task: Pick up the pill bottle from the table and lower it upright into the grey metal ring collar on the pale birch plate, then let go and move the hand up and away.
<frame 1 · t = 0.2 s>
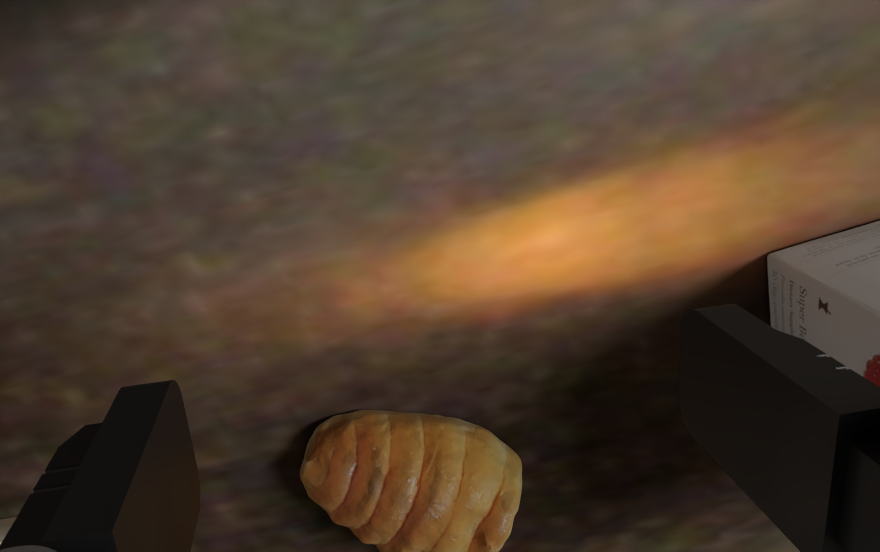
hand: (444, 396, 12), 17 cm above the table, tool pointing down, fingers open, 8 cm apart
pastry: (416, 469, 33), on the table
supplement box: (851, 311, 34), on the table
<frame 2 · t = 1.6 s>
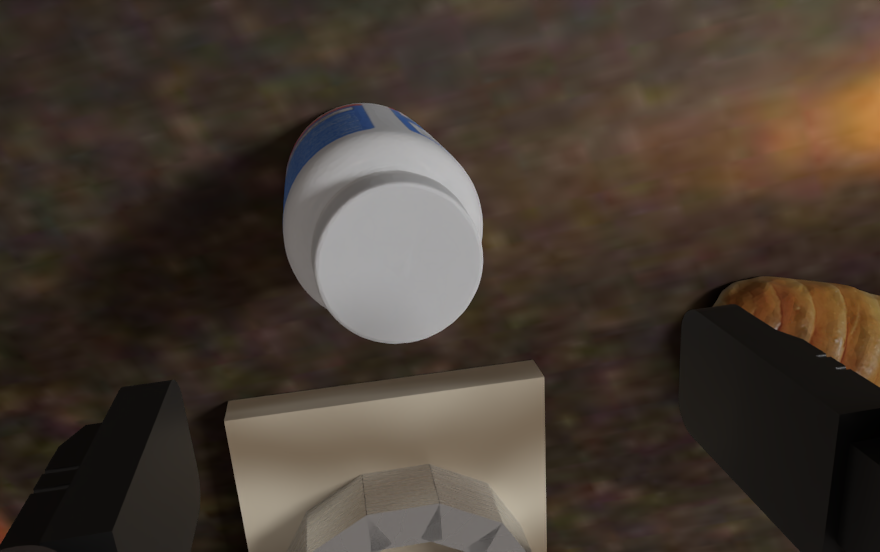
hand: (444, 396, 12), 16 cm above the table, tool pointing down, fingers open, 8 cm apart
pastry: (793, 348, 32), on the table
ring plate: (401, 545, 31), on the table
pill bottle: (364, 177, 26), on the table
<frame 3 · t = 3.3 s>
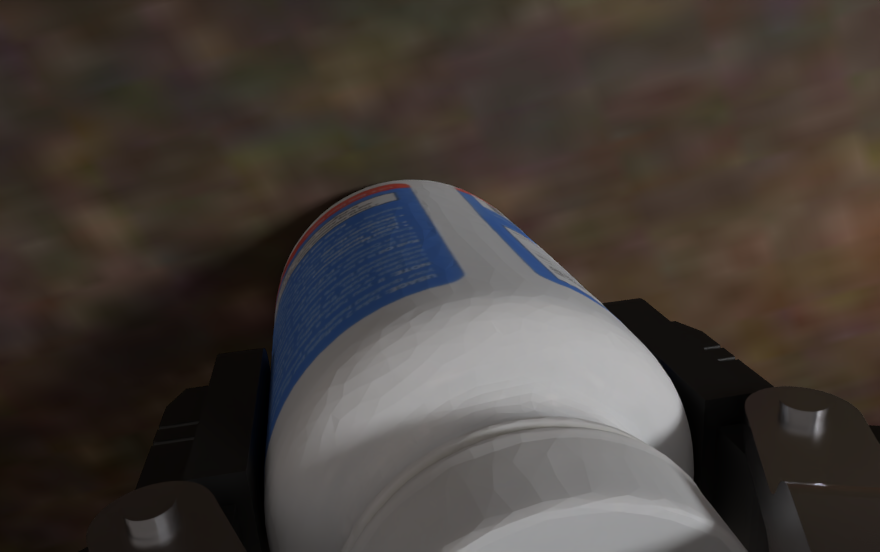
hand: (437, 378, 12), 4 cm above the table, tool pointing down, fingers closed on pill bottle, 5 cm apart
pill bottle: (408, 298, 16), on the table, touching gripper
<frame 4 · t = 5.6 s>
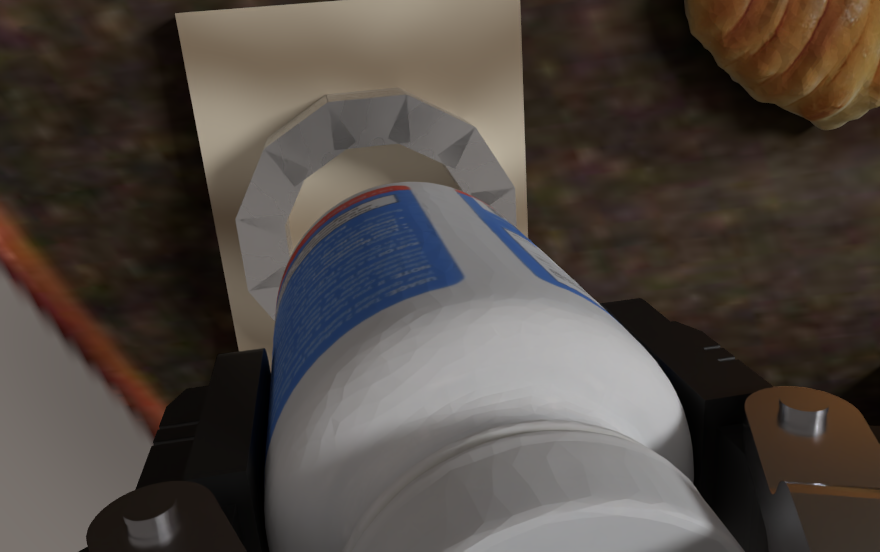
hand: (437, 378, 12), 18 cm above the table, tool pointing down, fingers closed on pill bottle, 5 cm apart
pastry: (781, 28, 30), on the table
ring collar: (379, 229, 27), on the ring plate, point 3 cm above the table
ring plate: (373, 210, 30), on the table
pill bottle: (408, 300, 16), point 14 cm above the table, touching gripper
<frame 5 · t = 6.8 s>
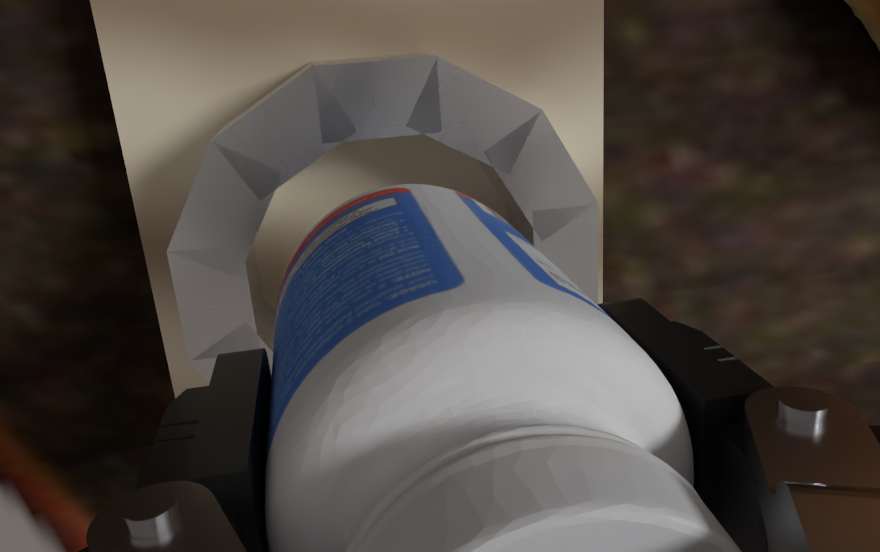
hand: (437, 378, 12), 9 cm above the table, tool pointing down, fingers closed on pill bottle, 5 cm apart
ring collar: (390, 264, 18), on the ring plate, point 2 cm above the table
ring plate: (380, 235, 21), on the table
pill bottle: (409, 302, 16), point 5 cm above the table, touching gripper
when the fingers open (6 cm above the table, at t = 7.9 s): pill bottle stays where it is, resting on ring plate.
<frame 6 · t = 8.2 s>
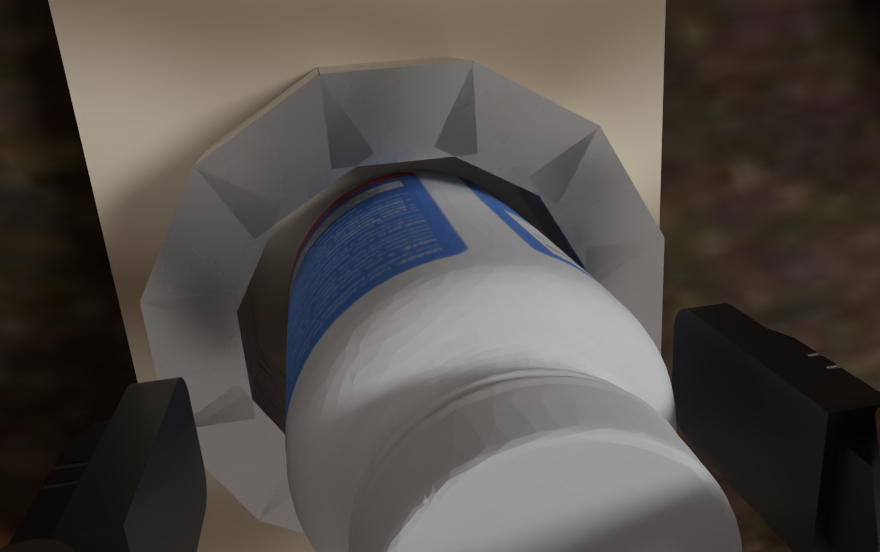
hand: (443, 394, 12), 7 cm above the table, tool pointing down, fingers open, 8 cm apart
ring collar: (412, 309, 15), on the ring plate, point 2 cm above the table
ring plate: (397, 268, 18), on the table
pill bottle: (413, 282, 16), point 1 cm above the table, touching ring plate
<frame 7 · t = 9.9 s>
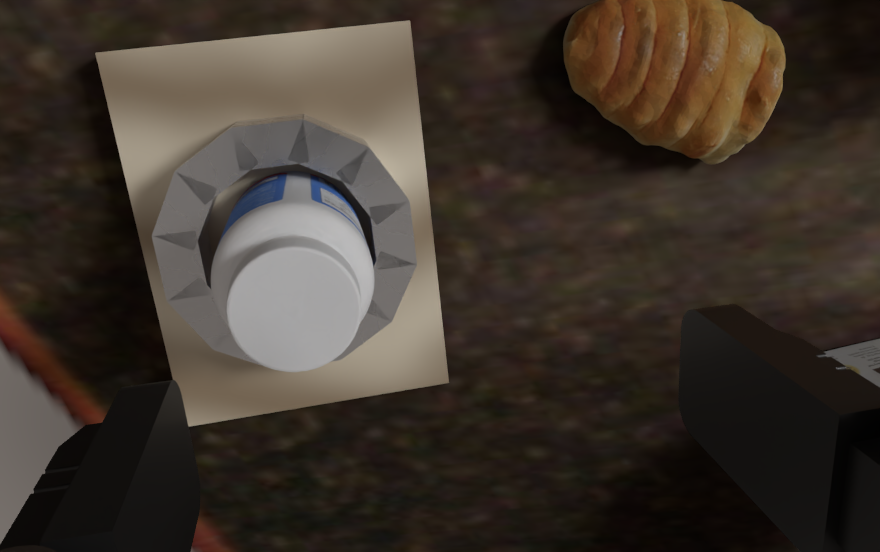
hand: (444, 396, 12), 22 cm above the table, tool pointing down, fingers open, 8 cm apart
pastry: (661, 76, 33), on the table
ring collar: (290, 242, 30), on the ring plate, point 3 cm above the table
ring plate: (291, 227, 32), on the table
pill bottle: (296, 231, 31), point 1 cm above the table, touching ring plate
coffee box: (842, 417, 41), on the table
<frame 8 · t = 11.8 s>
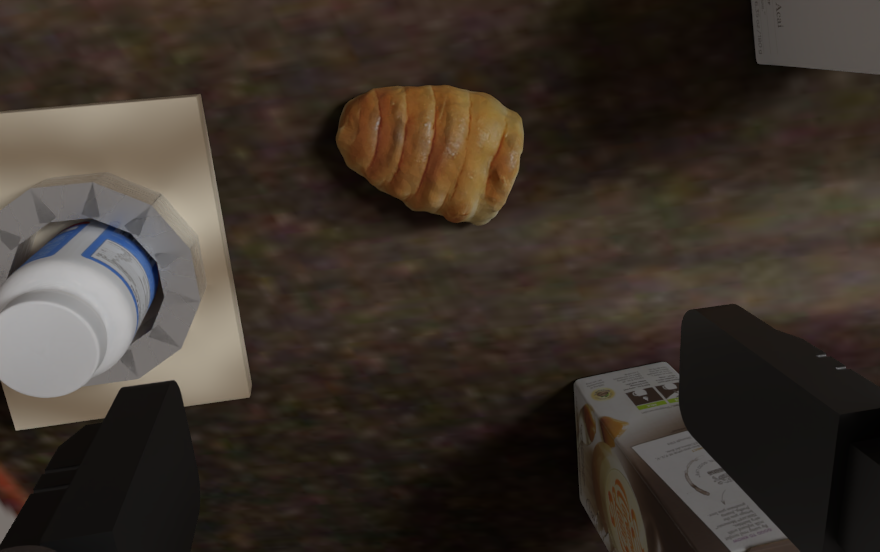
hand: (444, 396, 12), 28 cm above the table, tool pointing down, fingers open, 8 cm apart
pastry: (435, 150, 39), on the table
ring collar: (94, 280, 35), on the ring plate, point 3 cm above the table
ring plate: (109, 263, 38), on the table
pill bottle: (107, 268, 36), point 1 cm above the table, touching ring plate
coffee box: (619, 431, 47), on the table
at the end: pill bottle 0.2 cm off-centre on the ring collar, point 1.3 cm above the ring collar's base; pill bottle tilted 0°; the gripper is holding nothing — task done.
